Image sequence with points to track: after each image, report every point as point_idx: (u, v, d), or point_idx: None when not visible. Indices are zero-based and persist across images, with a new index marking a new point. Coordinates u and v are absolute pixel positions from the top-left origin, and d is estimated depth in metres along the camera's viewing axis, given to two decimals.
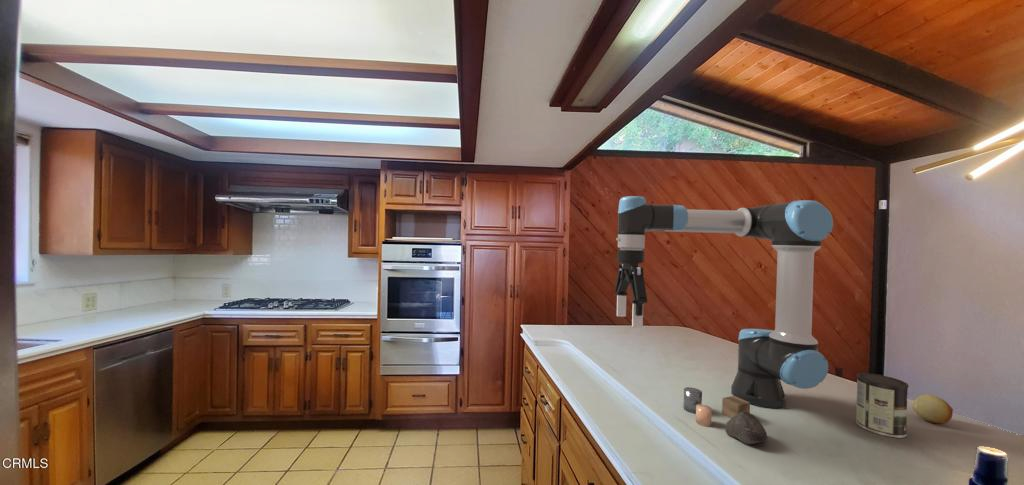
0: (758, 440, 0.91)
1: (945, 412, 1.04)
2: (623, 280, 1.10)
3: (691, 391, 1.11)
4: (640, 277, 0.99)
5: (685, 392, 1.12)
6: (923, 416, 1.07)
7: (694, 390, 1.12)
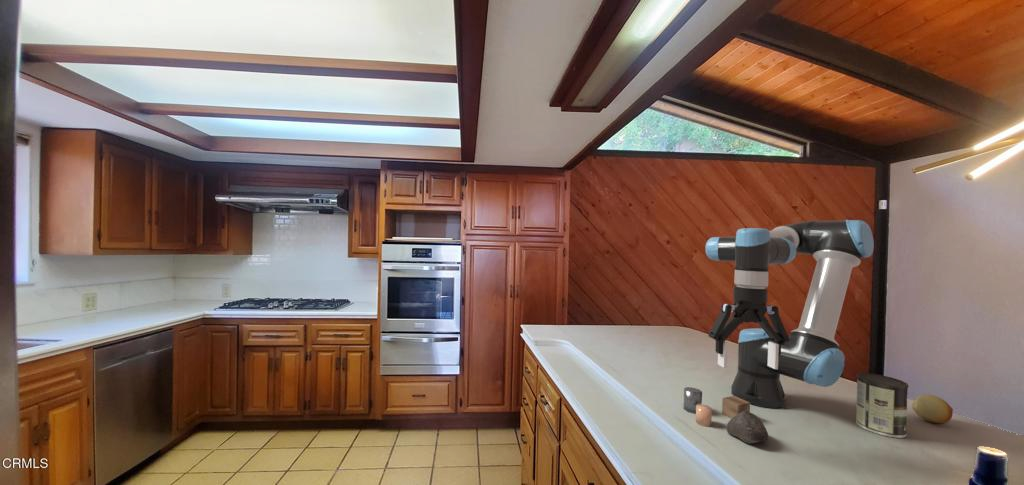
0: (760, 439, 0.91)
1: (945, 412, 1.04)
2: (758, 322, 0.97)
3: (691, 391, 1.11)
4: (723, 314, 0.95)
5: (685, 392, 1.12)
6: (923, 416, 1.07)
7: (694, 390, 1.12)
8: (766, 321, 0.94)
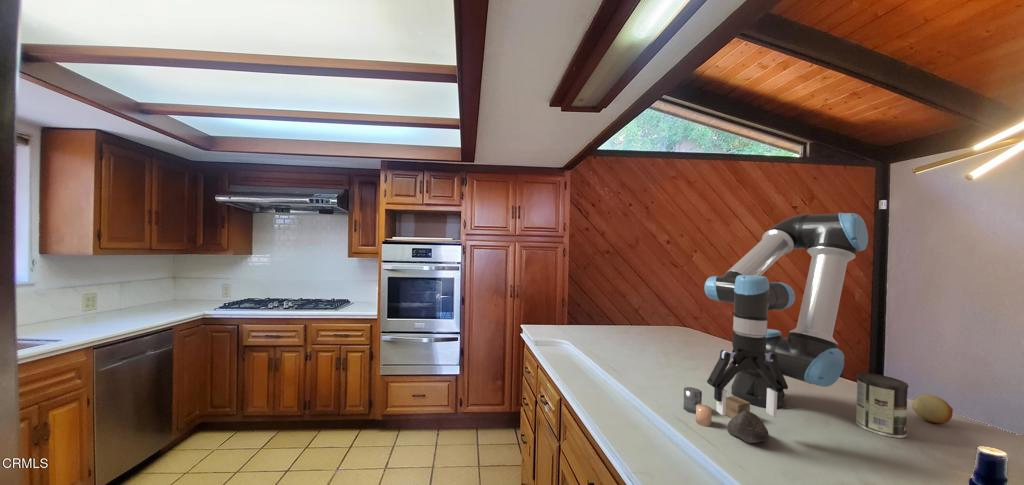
0: (760, 439, 0.91)
1: (945, 412, 1.04)
2: (757, 369, 0.97)
3: (691, 391, 1.11)
4: (722, 361, 0.95)
5: (685, 392, 1.12)
6: (923, 416, 1.07)
7: (694, 390, 1.12)
8: (765, 369, 0.94)
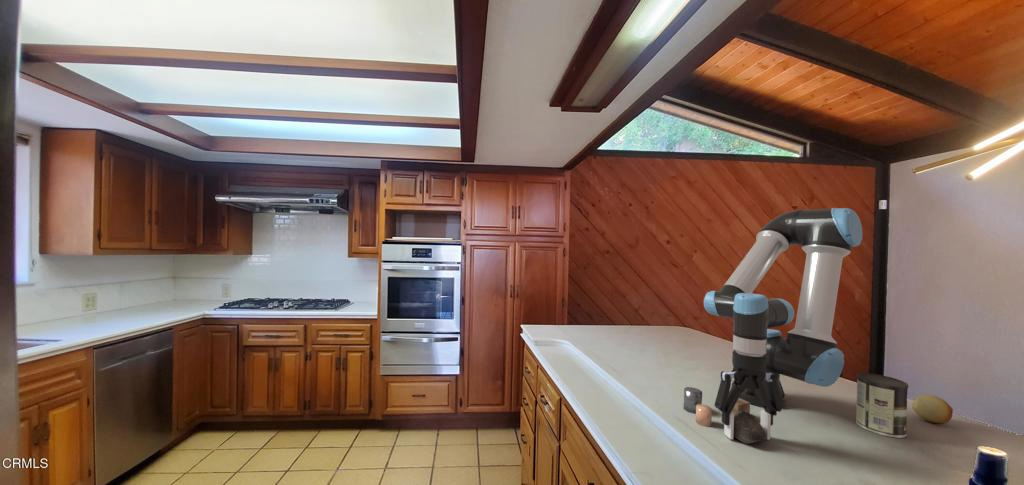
0: (757, 439, 0.91)
1: (945, 412, 1.04)
2: None
3: (691, 391, 1.11)
4: (724, 384, 0.96)
5: (685, 392, 1.11)
6: (923, 416, 1.07)
7: (694, 390, 1.12)
8: (763, 389, 0.94)
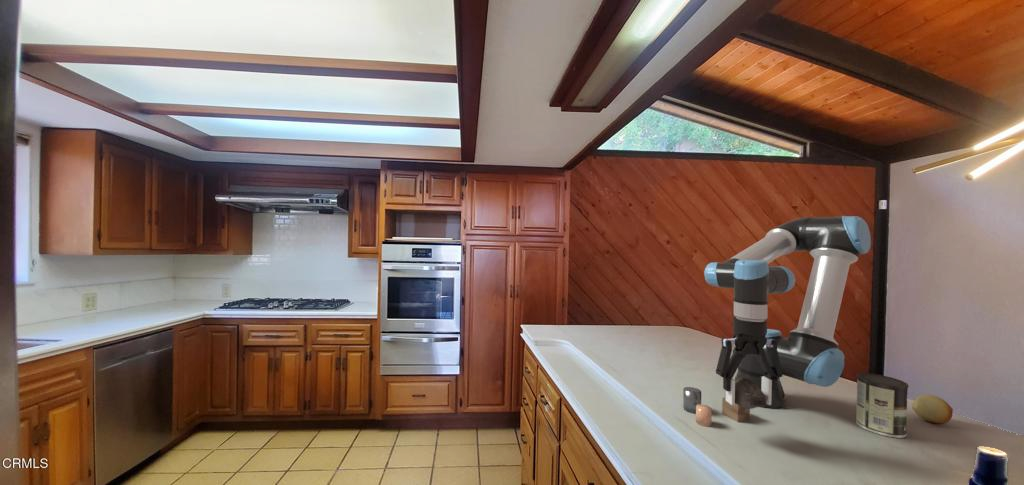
0: (758, 404, 0.91)
1: (945, 412, 1.04)
2: (755, 354, 0.97)
3: (690, 391, 1.11)
4: (725, 350, 0.96)
5: (685, 392, 1.12)
6: (923, 416, 1.07)
7: (693, 389, 1.12)
8: (764, 354, 0.94)
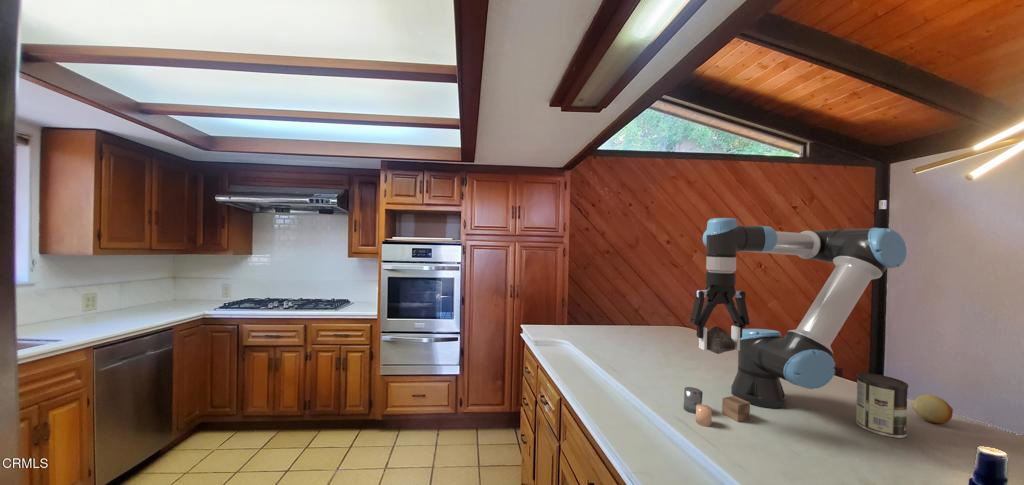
0: (727, 348, 1.00)
1: (945, 412, 1.04)
2: (726, 305, 1.06)
3: (692, 391, 1.11)
4: (698, 300, 1.04)
5: (686, 392, 1.11)
6: (923, 416, 1.07)
7: (694, 390, 1.12)
8: (733, 304, 1.03)
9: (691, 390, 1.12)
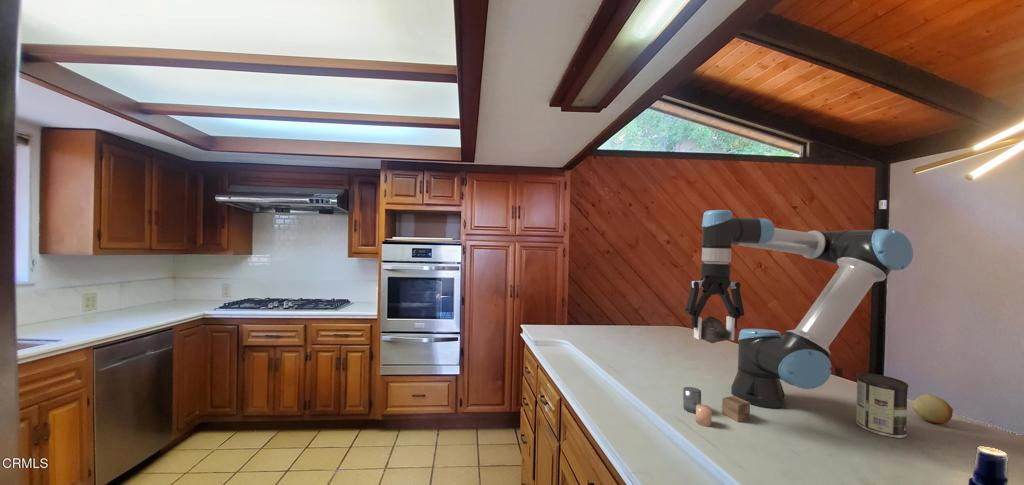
0: (721, 337, 1.02)
1: (945, 412, 1.04)
2: (721, 296, 1.08)
3: (691, 391, 1.11)
4: (693, 291, 1.06)
5: (685, 392, 1.11)
6: (923, 416, 1.07)
7: (693, 389, 1.12)
8: (727, 294, 1.05)
9: (690, 390, 1.12)
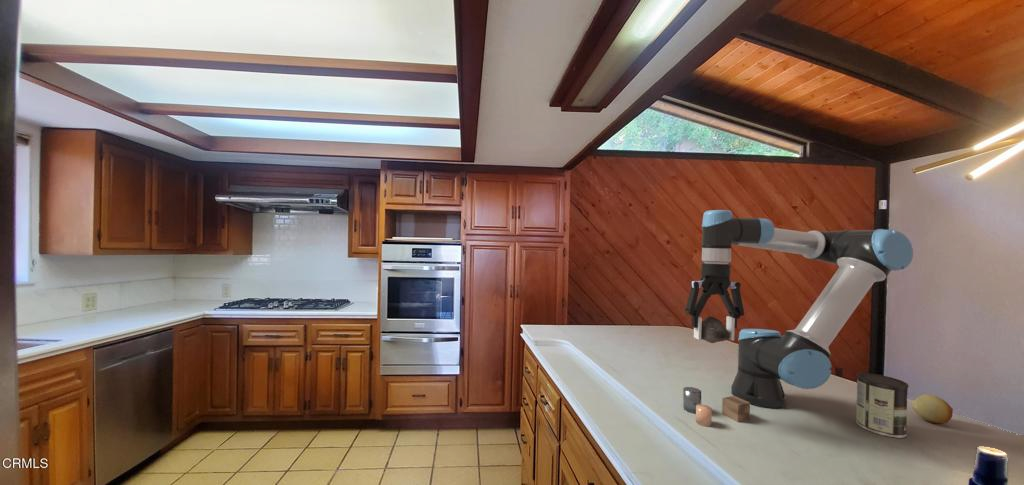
0: (721, 337, 1.02)
1: (945, 412, 1.04)
2: (721, 296, 1.08)
3: (691, 391, 1.11)
4: (693, 291, 1.06)
5: (686, 393, 1.11)
6: (923, 415, 1.07)
7: (692, 389, 1.12)
8: (727, 294, 1.05)
9: (690, 390, 1.12)
